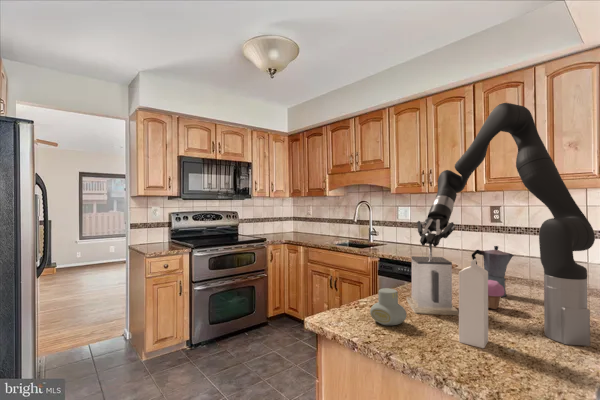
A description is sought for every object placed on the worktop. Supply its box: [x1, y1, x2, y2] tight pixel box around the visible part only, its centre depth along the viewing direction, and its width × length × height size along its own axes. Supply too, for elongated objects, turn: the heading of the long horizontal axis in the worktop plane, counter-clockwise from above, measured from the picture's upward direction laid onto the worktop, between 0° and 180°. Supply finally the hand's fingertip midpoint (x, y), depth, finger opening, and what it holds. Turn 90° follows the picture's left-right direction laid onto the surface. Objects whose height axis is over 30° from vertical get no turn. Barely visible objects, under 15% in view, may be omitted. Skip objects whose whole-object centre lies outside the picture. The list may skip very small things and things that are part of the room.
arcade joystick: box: [406, 256, 459, 316], centre depth 114 cm, size 14×14×17 cm
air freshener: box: [369, 287, 407, 327], centre depth 100 cm, size 11×8×10 cm
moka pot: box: [471, 245, 515, 298], centre depth 132 cm, size 10×15×20 cm, turn 78°
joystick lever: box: [425, 232, 436, 260], centre depth 114 cm, size 9×9×24 cm
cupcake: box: [488, 280, 506, 310], centre depth 114 cm, size 9×9×10 cm
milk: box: [458, 258, 489, 349], centre depth 86 cm, size 6×6×22 cm
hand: (428, 244), depth 113 cm, fingers closed on joystick lever, 3 cm apart
